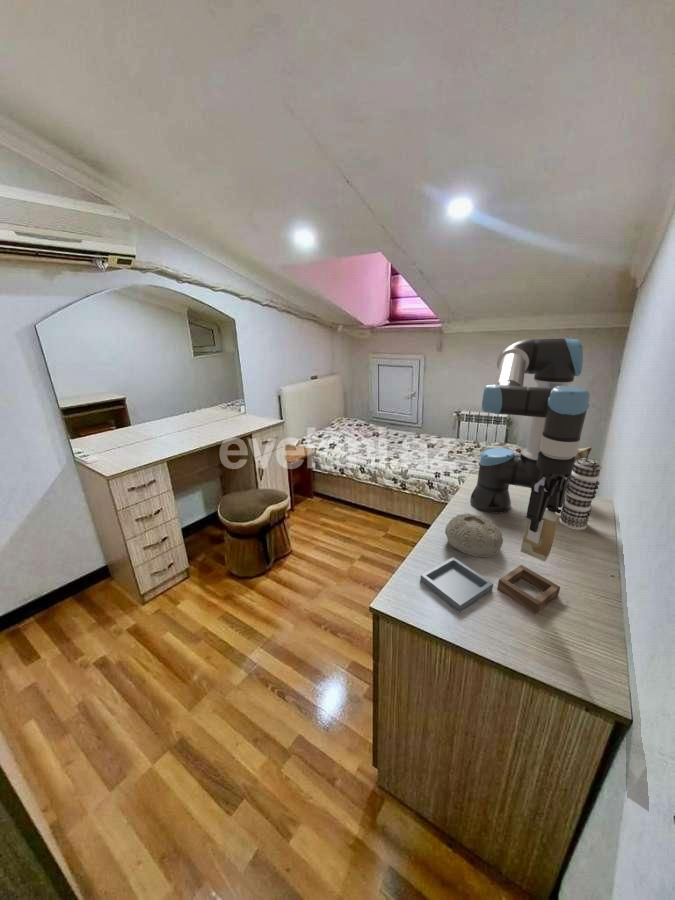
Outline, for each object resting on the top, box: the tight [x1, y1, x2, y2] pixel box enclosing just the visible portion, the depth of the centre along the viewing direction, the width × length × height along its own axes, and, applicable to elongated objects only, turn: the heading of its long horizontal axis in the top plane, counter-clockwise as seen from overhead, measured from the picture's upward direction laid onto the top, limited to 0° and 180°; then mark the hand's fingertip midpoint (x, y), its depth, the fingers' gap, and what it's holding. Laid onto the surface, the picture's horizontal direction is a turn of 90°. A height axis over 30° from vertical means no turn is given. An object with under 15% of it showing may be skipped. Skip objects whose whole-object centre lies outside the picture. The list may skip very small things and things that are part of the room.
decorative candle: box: [559, 457, 603, 531], centre depth 124 cm, size 9×9×25 cm
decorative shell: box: [444, 512, 504, 558], centre depth 115 cm, size 18×18×10 cm
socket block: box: [496, 564, 561, 616], centre depth 96 cm, size 11×11×4 cm
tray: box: [419, 556, 494, 613], centre depth 100 cm, size 14×14×2 cm
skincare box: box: [520, 510, 561, 562], centre depth 90 cm, size 6×4×12 cm
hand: (539, 536), depth 91 cm, fingers closed on skincare box, 5 cm apart
